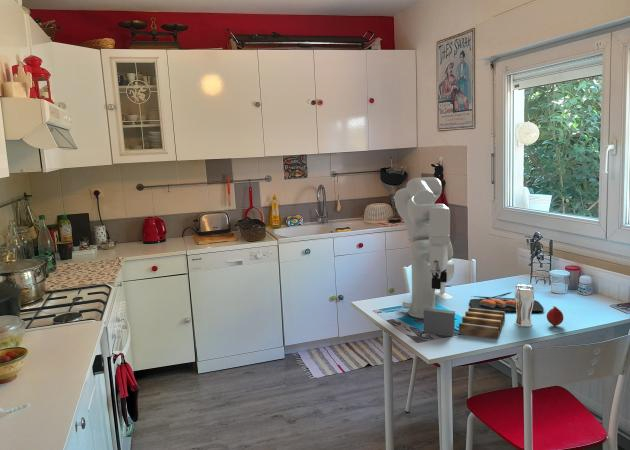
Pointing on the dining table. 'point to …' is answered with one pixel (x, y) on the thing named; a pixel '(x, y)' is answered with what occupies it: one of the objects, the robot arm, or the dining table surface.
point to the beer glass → (524, 305)
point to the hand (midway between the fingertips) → (439, 285)
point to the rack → (482, 323)
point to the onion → (555, 316)
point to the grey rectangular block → (439, 322)
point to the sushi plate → (500, 304)
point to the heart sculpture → (449, 276)
